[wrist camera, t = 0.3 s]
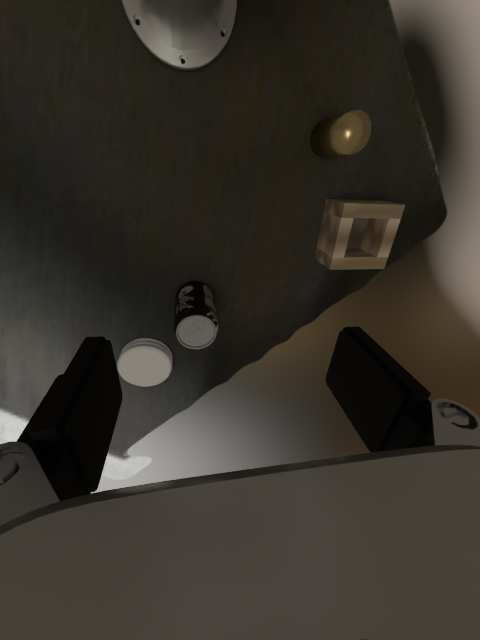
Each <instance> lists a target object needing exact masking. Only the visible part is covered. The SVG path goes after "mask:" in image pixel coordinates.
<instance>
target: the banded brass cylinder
mask: <svg viewBox="0 0 480 640" xmlns="http://www.w3.org/2000/svg"><path fill="white" fill-rule="evenodd" d="M370 133H371V122H370V118H369V116H368V115H367V114H366V113H365V112H364V111H361V110H354V111H351V112H348V113H345V114H342V115H339V116H336V117H333V118H330V119H327V120H324V121H321V122H320V123H318V124H317V125H316V126H315V128H314V129H313V131H312V134H311V138H310V144H311V148H312V150H313V152H314V153H315V154H316V155H318V156H335V155H349V154H355V153H357V152H359V151H360V150H361V149H363V147H364V146H365V145H366V143H367V142H368V140H369V137H370Z"/></svg>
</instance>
